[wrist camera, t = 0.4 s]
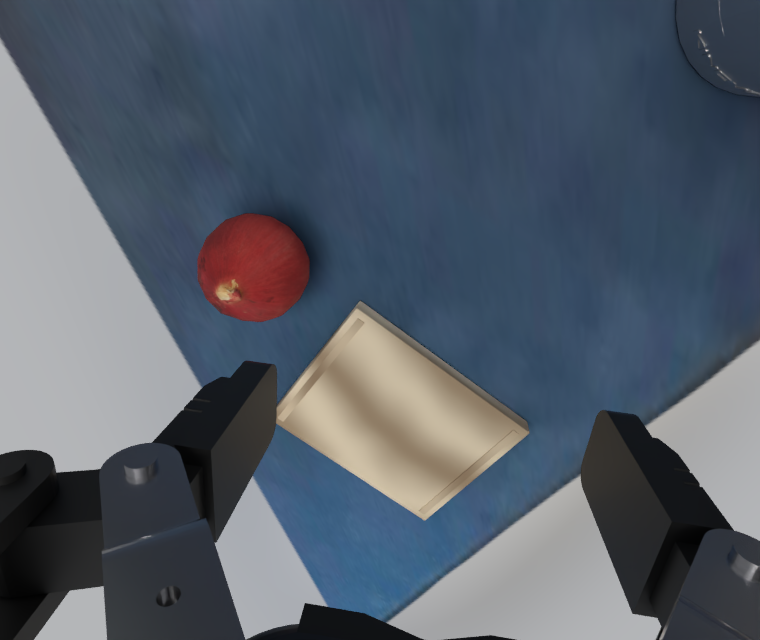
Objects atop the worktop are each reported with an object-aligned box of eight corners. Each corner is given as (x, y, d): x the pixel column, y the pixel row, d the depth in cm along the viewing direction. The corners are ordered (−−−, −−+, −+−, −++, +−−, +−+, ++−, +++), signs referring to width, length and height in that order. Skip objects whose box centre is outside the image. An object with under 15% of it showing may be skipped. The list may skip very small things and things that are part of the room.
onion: (277, 309, 31) (225, 373, 24) (213, 241, 30) (137, 287, 22) (342, 256, 29) (306, 309, 22) (276, 181, 28) (215, 210, 20)
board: (360, 300, 30) (356, 308, 29) (527, 421, 32) (529, 433, 31) (274, 408, 35) (268, 418, 33) (425, 508, 37) (424, 521, 36)
